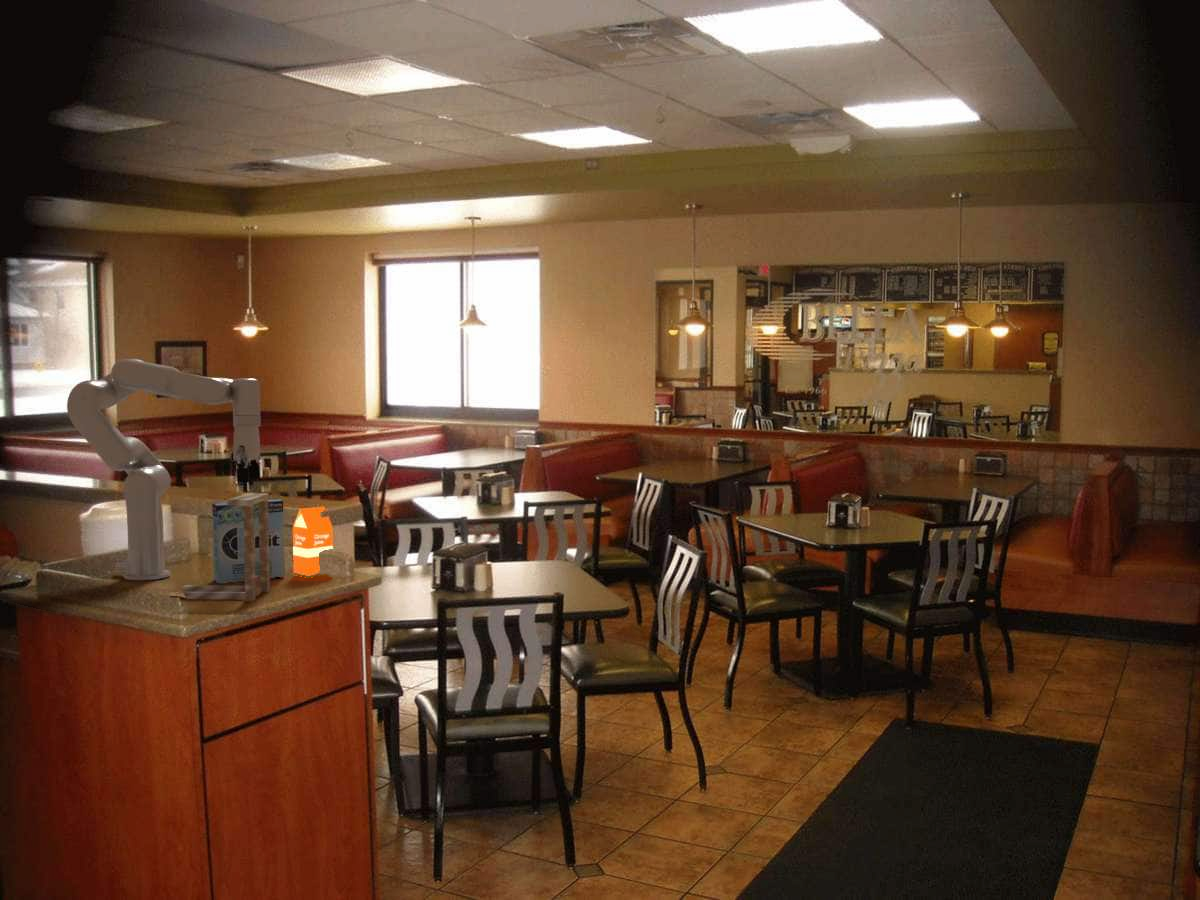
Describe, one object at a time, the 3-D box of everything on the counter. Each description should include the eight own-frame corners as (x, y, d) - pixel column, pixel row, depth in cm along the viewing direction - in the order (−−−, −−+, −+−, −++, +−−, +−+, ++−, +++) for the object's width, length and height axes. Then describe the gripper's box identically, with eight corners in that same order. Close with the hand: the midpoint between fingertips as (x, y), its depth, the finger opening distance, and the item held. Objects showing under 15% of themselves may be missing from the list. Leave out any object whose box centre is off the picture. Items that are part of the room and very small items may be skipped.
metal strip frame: (165, 601, 294) (162, 499, 292) (188, 589, 309) (185, 493, 307) (252, 601, 294) (250, 499, 292) (270, 590, 309) (268, 493, 307)
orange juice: (333, 573, 334) (332, 507, 332) (308, 578, 327) (306, 510, 326) (318, 570, 339) (317, 505, 337) (293, 574, 332) (291, 508, 331)
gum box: (280, 575, 332) (279, 498, 330) (286, 577, 328) (284, 500, 326) (213, 581, 321) (211, 502, 319) (218, 584, 317) (216, 504, 315)
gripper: (244, 420, 330) (246, 477, 331) (223, 423, 312) (225, 483, 314) (269, 419, 329) (271, 477, 331) (249, 422, 312) (251, 483, 313)
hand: (248, 480), depth 322 cm, fingers open, 9 cm apart
